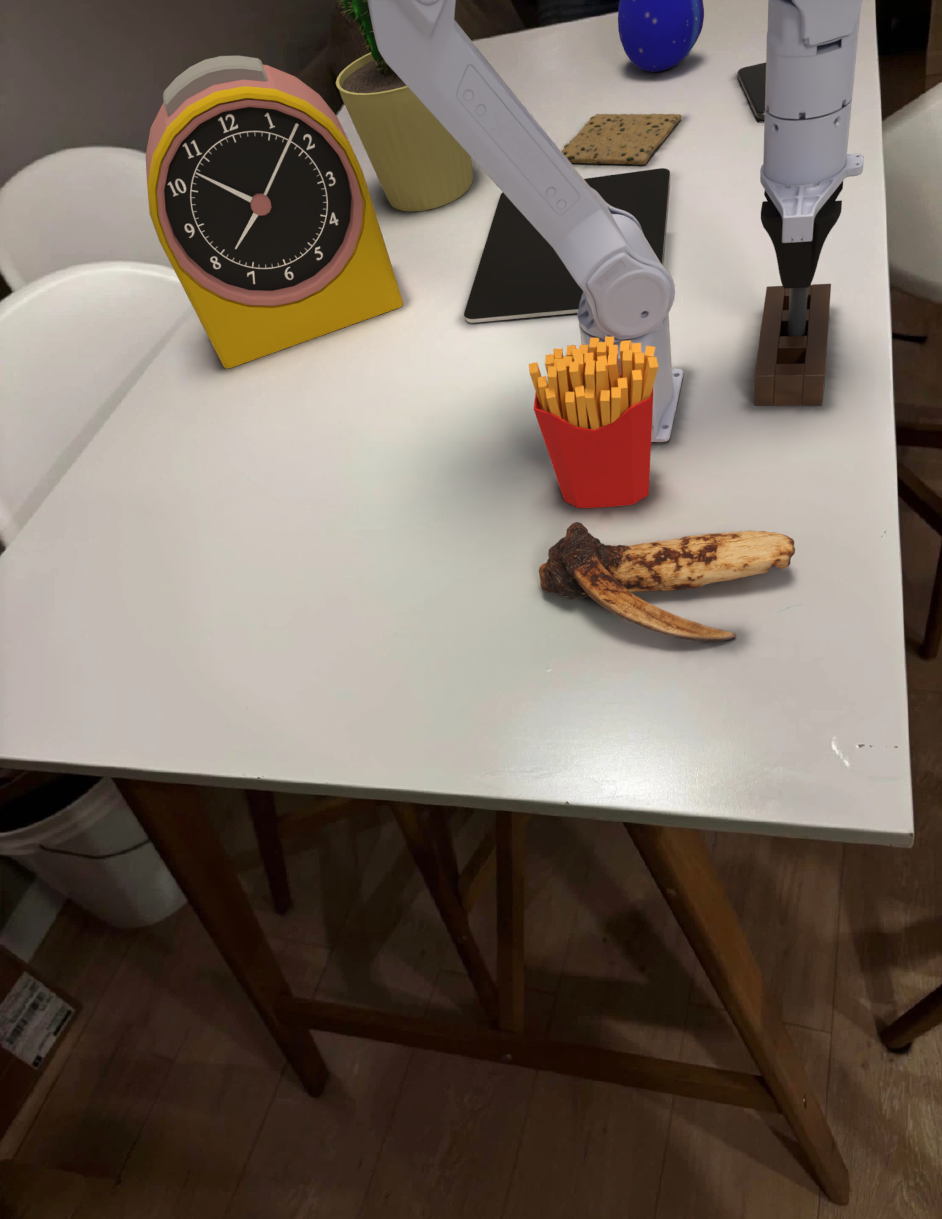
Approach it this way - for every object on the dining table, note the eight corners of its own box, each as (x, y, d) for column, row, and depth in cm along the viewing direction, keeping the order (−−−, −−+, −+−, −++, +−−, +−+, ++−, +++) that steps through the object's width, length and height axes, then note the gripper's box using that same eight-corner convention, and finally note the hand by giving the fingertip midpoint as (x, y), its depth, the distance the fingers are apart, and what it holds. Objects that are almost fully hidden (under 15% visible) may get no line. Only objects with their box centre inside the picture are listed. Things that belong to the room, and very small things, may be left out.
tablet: (502, 189, 108) (670, 166, 102) (503, 194, 109) (670, 172, 103) (462, 319, 92) (659, 300, 86) (463, 325, 92) (659, 307, 87)
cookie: (683, 117, 111) (683, 109, 110) (645, 165, 105) (645, 157, 105) (596, 117, 117) (595, 109, 116) (555, 162, 111) (554, 155, 110)
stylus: (803, 345, 76) (810, 246, 69) (786, 345, 76) (791, 247, 69) (804, 335, 76) (811, 236, 70) (787, 336, 77) (792, 238, 70)
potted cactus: (509, 159, 115) (456, -132, 92) (455, 222, 107) (382, -79, 85) (409, 159, 122) (337, -112, 99) (351, 218, 114) (259, -61, 92)
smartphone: (735, 75, 116) (756, 122, 106) (735, 68, 115) (757, 114, 105) (795, 61, 114) (822, 108, 105) (795, 54, 114) (822, 100, 104)
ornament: (714, 55, 121) (712, -77, 110) (675, 85, 118) (669, -48, 107) (646, 51, 127) (638, -75, 116) (608, 79, 124) (595, -48, 113)
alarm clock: (223, 370, 97) (95, 119, 77) (217, 329, 103) (97, 87, 84) (404, 305, 97) (322, 39, 78) (388, 268, 103) (307, 13, 84)
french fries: (551, 511, 72) (524, 379, 62) (555, 475, 75) (529, 343, 65) (667, 503, 70) (657, 365, 60) (667, 466, 72) (657, 328, 63)
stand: (828, 313, 80) (831, 283, 78) (822, 405, 73) (825, 375, 71) (765, 315, 82) (766, 286, 80) (753, 405, 75) (754, 376, 73)
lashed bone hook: (539, 659, 63) (806, 641, 59) (526, 620, 60) (810, 597, 55) (544, 559, 69) (788, 535, 65) (532, 518, 65) (790, 490, 61)
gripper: (869, 145, 56) (848, 330, 66) (871, 50, 65) (853, 227, 75) (752, 155, 59) (749, 333, 69) (769, 63, 67) (764, 233, 77)
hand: (797, 278), depth 72 cm, fingers closed on stylus, 1 cm apart
